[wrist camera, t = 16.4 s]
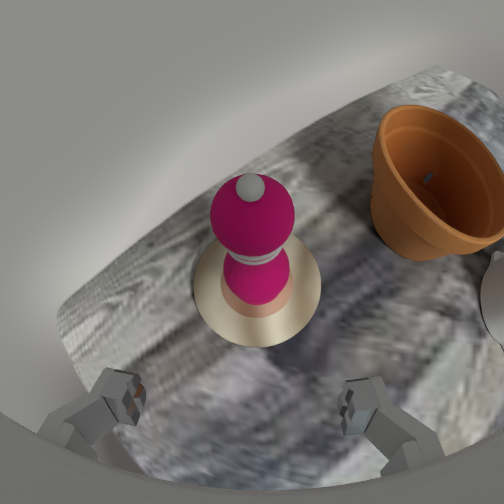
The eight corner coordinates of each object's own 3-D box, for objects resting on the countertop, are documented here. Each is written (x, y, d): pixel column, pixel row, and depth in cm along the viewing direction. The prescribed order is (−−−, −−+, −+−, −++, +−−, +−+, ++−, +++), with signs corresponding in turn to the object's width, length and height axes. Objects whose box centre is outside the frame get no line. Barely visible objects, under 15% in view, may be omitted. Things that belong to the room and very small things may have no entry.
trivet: (314, 229, 38) (316, 224, 37) (321, 346, 32) (323, 345, 31) (201, 229, 39) (199, 224, 38) (191, 344, 33) (189, 344, 32)
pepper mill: (284, 312, 33) (310, 239, 14) (224, 306, 33) (176, 228, 15) (288, 256, 35) (310, 141, 17) (232, 251, 36) (203, 136, 18)
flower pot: (448, 306, 33) (515, 273, 19) (329, 246, 37) (360, 180, 24) (462, 202, 40) (504, 153, 26) (367, 150, 44) (391, 85, 31)
